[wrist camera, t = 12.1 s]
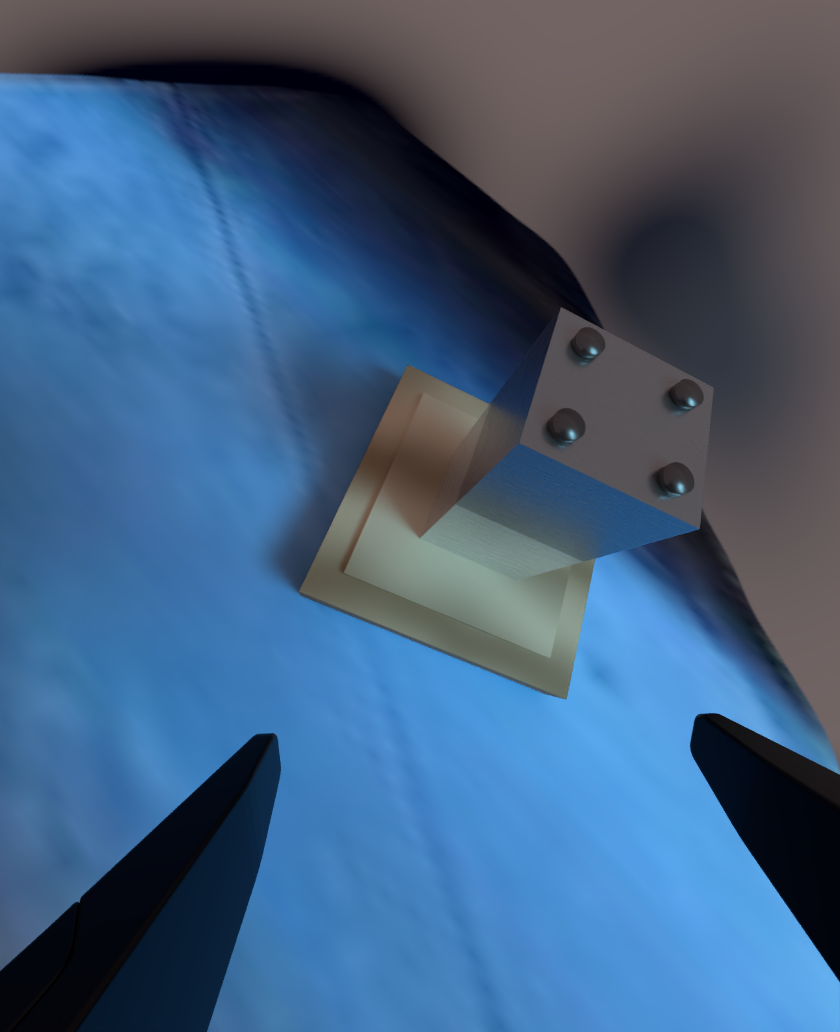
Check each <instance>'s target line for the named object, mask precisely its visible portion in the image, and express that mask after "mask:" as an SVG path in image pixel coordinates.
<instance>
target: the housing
mask: <svg viewBox="0 0 840 1032" xmlns="http://www.w3.org/2000/svg"><path fill="white" fill-rule="evenodd" d="M713 389H714V388H713V387H711V386H709V385H707V384H705V383H704V382H702V381H700V380H698V379H696V378H694V377H692V376H690V375H688V374H686V373H684V372H682V371H681V370H679V369H677V368H675V367H673V366H671V365H669V364H667V363H665V362H664V361H662V360H660V359H658V358H656V357H654V356H652V355H650V354H648V353H647V352H645V351H642V350H641V349H639V348H637V347H635V346H633V345H631V344H630V343H628V342H626V341H624V340H622V339H620V338H618V337H616V336H614V335H612V334H611V333H609V332H607V331H605V330H603V329H601V328H599V327H597V326H595V325H594V324H592V323H590V322H588V321H586V320H584V319H582V318H580V317H578V316H577V315H575V314H573V313H571V312H569V311H567V310H565V309H563V308H560V309H559V311H558V312H557V313H556V315H555V316H554V318H553V319H552V320H551V322H550V323H549V324H548V326H547V327H546V328H545V330H544V331H543V332H542V334H541V335H540V336H539V338H538V339H537V341H536V342H535V343H534V345H533V346H532V347H531V349H530V350H529V351H528V353H527V354H526V355H525V357H524V358H523V359H522V361H521V362H520V363H519V365H518V366H517V368H516V369H515V370H514V372H513V373H512V374H511V376H510V377H509V378H508V380H507V381H506V382H505V384H504V385H503V386H502V388H501V389H500V391H499V392H498V393H497V395H496V396H495V397H494V399H493V400H492V401H491V403H490V404H489V405H488V407H487V408H486V409H485V411H484V412H483V414H482V415H481V416H480V418H479V419H478V420H477V422H476V423H475V424H474V426H473V427H472V428H471V430H470V431H469V432H468V434H467V435H466V437H465V438H464V439H463V441H462V442H461V443H460V445H459V446H458V447H457V449H456V450H455V451H454V453H453V454H452V455H451V457H450V460H449V462H448V465H447V468H446V470H445V473H444V476H443V478H442V481H441V484H440V486H439V489H438V491H437V494H436V497H435V499H434V502H433V505H432V507H431V510H430V513H429V515H428V518H427V520H426V523H425V526H424V528H423V531H422V534H421V536H420V539H422V540H424V541H426V542H429V543H431V544H433V545H436V546H438V547H440V548H443V549H445V550H447V551H449V552H452V553H454V554H456V555H459V556H461V557H463V558H466V559H468V560H470V561H473V562H475V563H477V564H480V565H482V566H484V567H487V568H489V569H491V570H494V571H496V572H498V573H501V574H503V575H505V576H508V577H510V578H512V579H514V580H520V579H524V578H528V577H531V576H535V575H538V574H542V573H545V572H549V571H552V570H556V569H559V568H563V567H566V566H570V565H574V564H577V563H581V562H584V561H588V560H591V559H595V558H598V557H602V556H605V555H609V554H612V553H616V552H620V551H623V550H627V549H630V548H634V547H637V546H641V545H644V544H648V543H651V542H655V541H658V540H662V539H666V538H669V537H673V536H676V535H680V534H683V533H687V532H690V531H694V530H697V529H700V520H701V510H702V500H703V490H704V479H705V470H706V469H705V468H706V459H707V448H708V439H709V429H710V419H711V409H712V399H713Z"/></svg>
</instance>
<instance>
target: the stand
mask: <svg viewBox="0 0 840 1032" xmlns="http://www.w3.org/2000/svg"><path fill="white" fill-rule="evenodd" d="M488 405H489V404H488V403H485V402H483V401H481V400H479V399H477V398H475V397H473V396H471V395H469V394H467V393H465V392H463V391H461V390H459V389H457V388H455V387H453V386H451V385H449V384H447V383H445V382H442V381H440V380H438V379H436V378H434V377H432V376H430V375H428V374H426V373H424V372H422V371H420V370H418V369H416V368H414V367H412V366H410V365H407V367H406V369H405V372H404V374H403V376H402V378H401V380H400V382H399V384H398V386H397V388H396V390H395V392H394V394H393V397H392V399H391V401H390V403H389V405H388V407H387V409H386V411H385V413H384V415H383V417H382V419H381V422H380V424H379V426H378V428H377V430H376V432H375V434H374V436H373V438H372V440H371V442H370V444H369V447H368V449H367V451H366V453H365V455H364V457H363V459H362V461H361V463H360V465H359V467H358V470H357V472H356V474H355V476H354V478H353V480H352V482H351V484H350V486H349V488H348V490H347V492H346V495H345V497H344V499H343V501H342V503H341V505H340V507H339V509H338V511H337V513H336V515H335V517H334V520H333V522H332V524H331V526H330V528H329V530H328V532H327V534H326V536H325V538H324V540H323V542H322V545H321V547H320V549H319V551H318V553H317V555H316V557H315V559H314V561H313V563H312V565H311V568H310V570H309V572H308V574H307V576H306V578H305V580H304V582H303V584H302V586H301V588H300V590H299V593H300V595H301V596H303V597H305V598H308V599H310V600H313V601H315V602H318V603H320V604H323V605H325V606H328V607H330V608H333V609H335V610H338V611H340V612H343V613H345V614H348V615H350V616H352V617H355V618H357V619H360V620H362V621H365V622H367V623H370V624H372V625H375V626H377V627H380V628H382V629H385V630H387V631H390V632H392V633H395V634H397V635H400V636H402V637H405V638H407V639H410V640H412V641H415V642H417V643H419V644H422V645H424V646H427V647H429V648H432V649H434V650H437V651H439V652H442V653H444V654H447V655H449V656H452V657H454V658H457V659H459V660H462V661H464V662H467V663H469V664H472V665H474V666H477V667H479V668H482V669H484V670H486V671H489V672H491V673H494V674H496V675H499V676H501V677H504V678H506V679H509V680H511V681H514V682H516V683H519V684H521V685H524V686H526V687H529V688H531V689H534V690H536V691H539V692H541V693H544V694H547V695H551V696H555V697H559V698H563V699H567V695H568V690H569V685H570V680H571V675H572V670H573V665H574V660H575V656H576V651H577V646H578V641H579V636H580V631H581V626H582V621H583V616H584V611H585V606H586V601H587V597H588V592H589V587H590V582H591V577H592V572H593V567H594V562H595V559H591V560H588V561H584V562H581V563H577V564H574V565H570V566H566V567H563V568H559V569H556V570H552V571H549V572H545V573H542V574H538V575H535V576H531V577H528V578H524V579H520V580H514V579H512V578H510V577H508V576H505V575H503V574H501V573H498V572H496V571H494V570H491V569H489V568H487V567H484V566H482V565H480V564H477V563H475V562H473V561H470V560H468V559H466V558H463V557H461V556H459V555H456V554H454V553H452V552H449V551H447V550H445V549H443V548H440V547H438V546H436V545H433V544H431V543H429V542H426V541H424V540H422V539H420V536H421V534H422V531H423V528H424V526H425V523H426V520H427V518H428V515H429V513H430V510H431V507H432V505H433V502H434V499H435V497H436V494H437V491H438V489H439V486H440V484H441V481H442V478H443V476H444V473H445V470H446V468H447V465H448V462H449V460H450V457H451V455H452V454H453V453H454V451H455V450H456V449H457V447H458V446H459V445H460V443H461V442H462V441H463V439H464V438H465V437H466V435H467V434H468V432H469V431H470V430H471V428H472V427H473V426H474V424H475V423H476V422H477V420H478V419H479V418H480V416H481V415H482V414H483V412H484V411H485V409H486V408H487V407H488Z"/></svg>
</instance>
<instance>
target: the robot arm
mask: <svg viewBox="0 0 840 1032" xmlns="http://www.w3.org/2000/svg"><path fill="white" fill-rule="evenodd" d="M690 749H691V753H692V756H693V758H694V760H695V762H696V763H697V765H698V767H699V768H700V770H701V772H702V774H703V775H704V777H705V779H706V780H707V782H708V784H709V786H710V787H711V789H712V791H713V792H714V794H715V796H716V798H717V799H718V801H719V803H720V804H721V806H722V808H723V809H724V811H725V813H726V815H727V816H728V818H729V820H730V821H731V823H732V825H733V826H734V828H735V830H736V831H737V833H738V835H739V836H740V838H741V839H742V841H743V842H744V844H745V845H746V847H747V848H748V850H749V851H750V853H751V854H752V856H753V857H754V858H755V860H756V861H757V863H758V864H759V866H760V867H761V869H762V870H763V872H764V873H765V874H766V876H767V877H768V879H769V880H770V882H771V883H772V885H773V886H774V887H775V889H776V890H777V892H778V893H779V895H780V896H781V898H782V899H783V900H784V902H785V903H786V905H787V906H788V908H789V909H790V911H791V912H792V914H793V915H794V916H795V918H796V919H797V921H798V922H799V924H800V925H801V927H802V928H803V929H804V931H805V932H806V934H807V935H808V937H809V938H810V940H811V941H812V943H813V944H814V945H815V947H816V948H817V950H818V951H819V953H820V954H821V956H822V957H823V958H824V960H825V961H826V963H827V964H828V966H829V967H830V969H831V970H832V971H833V973H834V974H835V976H836V977H837V979H838V980H839V982H840V775H839V774H837V773H835V772H833V771H831V770H829V769H827V768H825V767H823V766H821V765H819V764H817V763H815V762H813V761H811V760H809V759H808V758H806V757H804V756H802V755H800V754H798V753H796V752H794V751H792V750H790V749H788V748H786V747H784V746H782V745H780V744H778V743H776V742H774V741H772V740H770V739H768V738H766V737H764V736H762V735H760V734H758V733H756V732H754V731H752V730H750V729H748V728H746V727H744V726H742V725H740V724H738V723H736V722H734V721H732V720H730V719H728V718H726V717H724V716H722V715H720V714H716V713H708V714H699V715H697V716H696V717H695V720H694V726H693V731H692V736H691V742H690ZM280 772H281V763H280V755H279V746H278V738H277V736H276V735H275V734H274V733H267V734H256V735H255V736H253V737H252V738H251V739H250V740H249V741H248V742H247V743H246V744H244V745H243V746H242V747H241V748H240V749H239V750H238V751H237V752H236V753H235V754H234V755H233V756H232V757H231V758H229V759H228V760H227V761H226V762H225V763H224V764H223V765H222V766H221V767H220V768H219V769H218V770H217V771H216V772H215V773H213V774H212V775H211V776H210V777H209V778H208V779H207V780H206V781H205V782H204V783H203V784H202V785H201V786H200V787H198V788H197V789H196V790H195V791H194V792H193V793H192V794H191V795H190V796H189V797H188V798H187V799H186V800H185V801H183V802H182V803H181V804H180V805H179V806H178V807H177V808H176V809H175V810H174V811H173V812H172V813H171V814H170V815H168V816H167V817H166V818H165V819H164V820H163V821H162V822H161V823H160V824H159V825H158V826H157V827H156V828H155V829H153V830H152V831H151V832H150V833H149V834H148V835H147V836H146V837H145V838H144V839H143V840H142V841H141V842H140V843H138V844H137V845H136V846H135V847H134V848H133V849H132V850H131V851H130V852H129V853H128V854H127V855H126V856H125V857H123V858H122V859H121V860H120V861H119V862H118V863H117V864H116V865H115V866H114V867H113V868H112V869H111V870H110V871H108V872H107V873H106V874H105V875H104V876H103V877H102V878H101V879H100V880H99V881H98V882H97V883H96V884H95V885H93V886H92V887H91V888H90V889H89V890H88V891H87V892H86V893H85V894H84V895H83V896H82V897H81V899H80V903H79V902H75V903H74V904H73V905H72V906H71V907H70V908H69V909H68V910H66V911H65V912H64V913H63V914H62V915H61V916H60V917H59V918H58V919H57V920H56V921H55V922H54V923H53V924H51V925H50V926H49V927H48V928H47V929H46V930H45V931H44V932H43V933H42V934H41V935H39V936H38V937H37V938H36V939H35V940H34V941H33V942H32V943H31V944H30V945H28V946H27V947H26V948H25V949H24V950H23V951H22V952H21V953H20V954H18V955H17V956H16V957H15V958H14V959H13V960H12V961H11V962H10V963H9V964H7V965H6V966H5V967H4V968H3V969H2V970H1V971H0V1032H207V1030H208V1027H209V1024H210V1021H211V1017H212V1014H213V1011H214V1008H215V1005H216V1002H217V999H218V996H219V993H220V989H221V986H222V983H223V980H224V977H225V974H226V971H227V968H228V965H229V961H230V958H231V955H232V952H233V949H234V946H235V943H236V940H237V937H238V933H239V930H240V927H241V924H242V921H243V918H244V915H245V912H246V909H247V905H248V902H249V899H250V896H251V893H252V890H253V887H254V884H255V881H256V877H257V874H258V870H259V867H260V863H261V859H262V855H263V851H264V846H265V842H266V838H267V833H268V829H269V824H270V820H271V815H272V811H273V806H274V802H275V797H276V793H277V788H278V784H279V779H280Z"/></svg>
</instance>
